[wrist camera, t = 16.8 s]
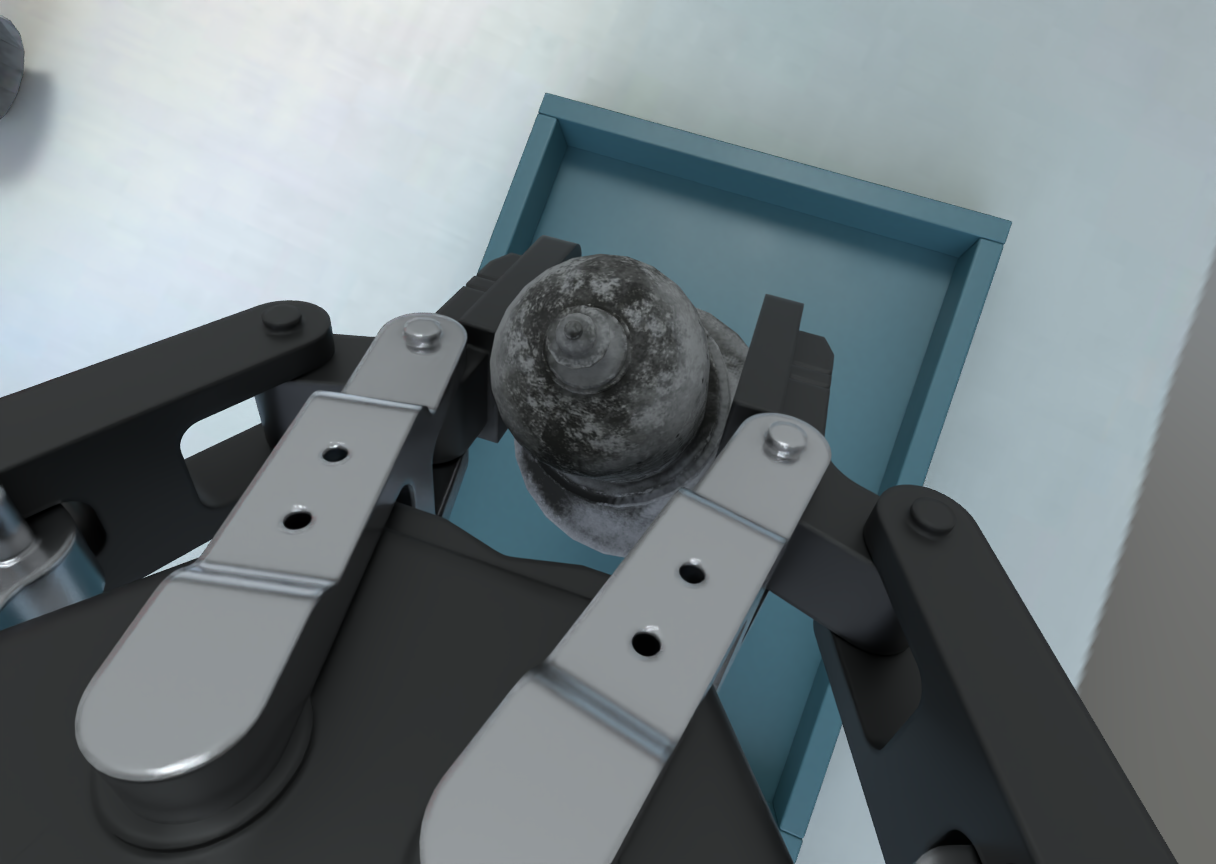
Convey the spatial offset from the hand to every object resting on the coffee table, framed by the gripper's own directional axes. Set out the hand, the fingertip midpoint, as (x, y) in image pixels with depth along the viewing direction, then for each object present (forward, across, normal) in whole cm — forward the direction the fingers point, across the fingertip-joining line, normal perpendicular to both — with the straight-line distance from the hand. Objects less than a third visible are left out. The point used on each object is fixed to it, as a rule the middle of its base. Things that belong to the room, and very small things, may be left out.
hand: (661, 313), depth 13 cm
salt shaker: (+3, 0, +6) cm, 6 cm away
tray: (+8, 0, +10) cm, 13 cm away
